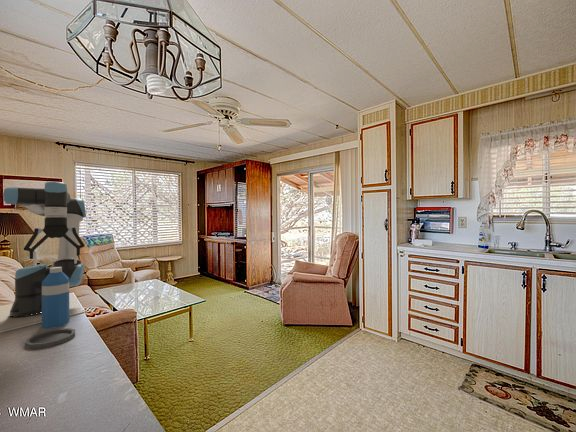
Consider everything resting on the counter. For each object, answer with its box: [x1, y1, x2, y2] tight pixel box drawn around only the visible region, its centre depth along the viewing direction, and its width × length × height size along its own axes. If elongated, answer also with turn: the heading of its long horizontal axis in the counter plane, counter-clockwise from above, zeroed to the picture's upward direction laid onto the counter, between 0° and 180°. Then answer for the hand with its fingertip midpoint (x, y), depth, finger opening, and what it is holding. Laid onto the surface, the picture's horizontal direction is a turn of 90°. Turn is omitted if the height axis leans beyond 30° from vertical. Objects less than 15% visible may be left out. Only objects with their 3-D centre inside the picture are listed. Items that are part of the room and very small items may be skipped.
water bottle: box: [41, 267, 70, 330], centre depth 117 cm, size 9×9×25 cm
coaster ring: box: [24, 327, 76, 350], centre depth 101 cm, size 14×14×2 cm
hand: (55, 264), depth 117 cm, fingers open, 13 cm apart
